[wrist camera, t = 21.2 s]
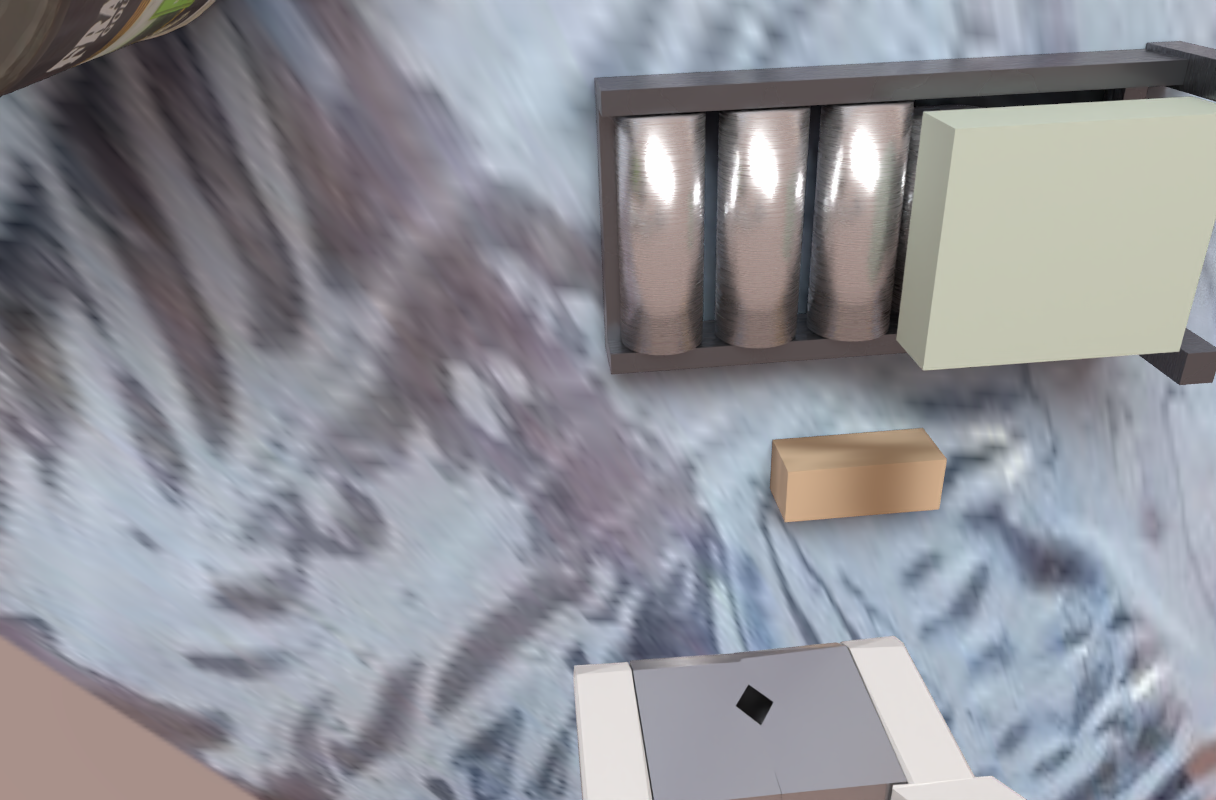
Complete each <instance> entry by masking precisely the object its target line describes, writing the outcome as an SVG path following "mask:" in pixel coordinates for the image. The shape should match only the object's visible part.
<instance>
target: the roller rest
mask: <svg viewBox="0 0 1216 800" xmlns="http://www.w3.org/2000/svg"><path fill="white" fill-rule="evenodd" d="M946 461H947V459H946V458H945V456H944V455H943V454H942V452H941V451H940V450H939V448H938V447H937V446H936V445H935V443H934V442H933V441H932V439H931V438H930V437H929V436H928V434H927V433H926V432H925V430H924V429H923V428H917V429H904V430H892V431H879V432H866V433H853V434H841V435H828V436H815V437H802V438H790V439H777V440H773V442H772V460H771V479H770V489H771V492H772V494H773V496H774V498H775V501H776V503H777V505H778V508H779V510H780V512H781V514H782V517H783V519H784V521H785V522H794V521H806V520H817V519H829V518H841V517H853V516H865V515H877V514H889V513H901V512H913V511H924V510H936V509H939V506H940V500H941V493H942V487H943V480H944V474H945V468H946Z"/></svg>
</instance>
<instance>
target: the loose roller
mask: <svg viewBox="0 0 1216 800" xmlns="http://www.w3.org/2000/svg"><path fill="white" fill-rule="evenodd" d="M979 108H983V107H977V106H970V105H957V104H951V105H936V106H920V107H914V110H913V118H912V127H911V136H910V145H909V154H908V162H907V171H906V180H905V189H904V198H903V207H902V215H901V224H900V233H899V242H898V251H897V259H896V268H895V277H894V286H893V295H892V303H891V309H892V310H893V311H895V312H897V313H899V312H900V303H901V295H902V287H903V278H904V270H905V261H906V253H907V244H908V236H909V227H910V219H911V210H912V202H913V194H914V185H915V177H916V168H917V160H918V151H919V143H920V134H921V126H922V117H923V112H925V111H943V110H961V109H979Z"/></svg>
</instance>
